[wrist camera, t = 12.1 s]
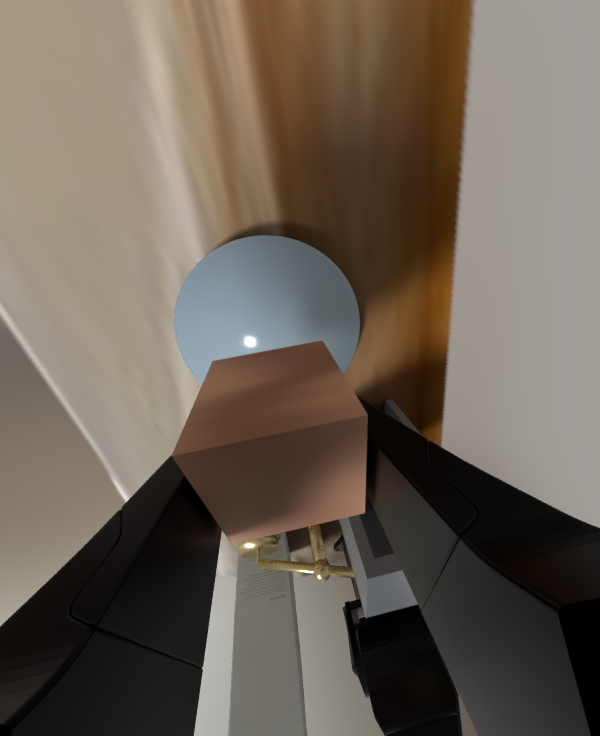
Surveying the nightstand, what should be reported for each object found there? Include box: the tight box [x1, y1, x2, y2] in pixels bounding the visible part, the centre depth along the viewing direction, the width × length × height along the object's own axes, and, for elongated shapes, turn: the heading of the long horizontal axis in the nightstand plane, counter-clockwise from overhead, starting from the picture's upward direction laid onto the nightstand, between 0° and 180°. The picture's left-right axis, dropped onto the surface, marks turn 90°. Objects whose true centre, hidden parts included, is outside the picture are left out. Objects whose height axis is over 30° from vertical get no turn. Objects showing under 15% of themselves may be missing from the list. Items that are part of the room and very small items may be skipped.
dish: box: [174, 235, 360, 384], centre depth 14 cm, size 11×11×1 cm
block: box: [172, 340, 368, 544], centre depth 7 cm, size 4×4×4 cm
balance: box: [237, 524, 355, 582], centre depth 21 cm, size 16×5×8 cm, turn 98°
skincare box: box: [228, 532, 307, 736], centre depth 22 cm, size 8×6×15 cm
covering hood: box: [339, 509, 418, 618], centre depth 13 cm, size 7×7×5 cm
